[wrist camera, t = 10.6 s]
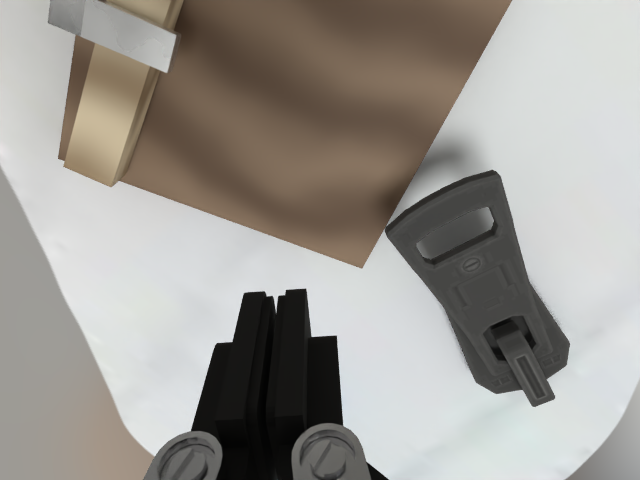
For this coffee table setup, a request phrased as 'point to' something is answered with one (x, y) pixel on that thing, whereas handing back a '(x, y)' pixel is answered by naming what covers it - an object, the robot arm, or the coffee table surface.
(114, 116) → the link
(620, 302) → the coffee table surface
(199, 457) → the robot arm
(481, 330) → the zipper pull
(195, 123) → the walnut board
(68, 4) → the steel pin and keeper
